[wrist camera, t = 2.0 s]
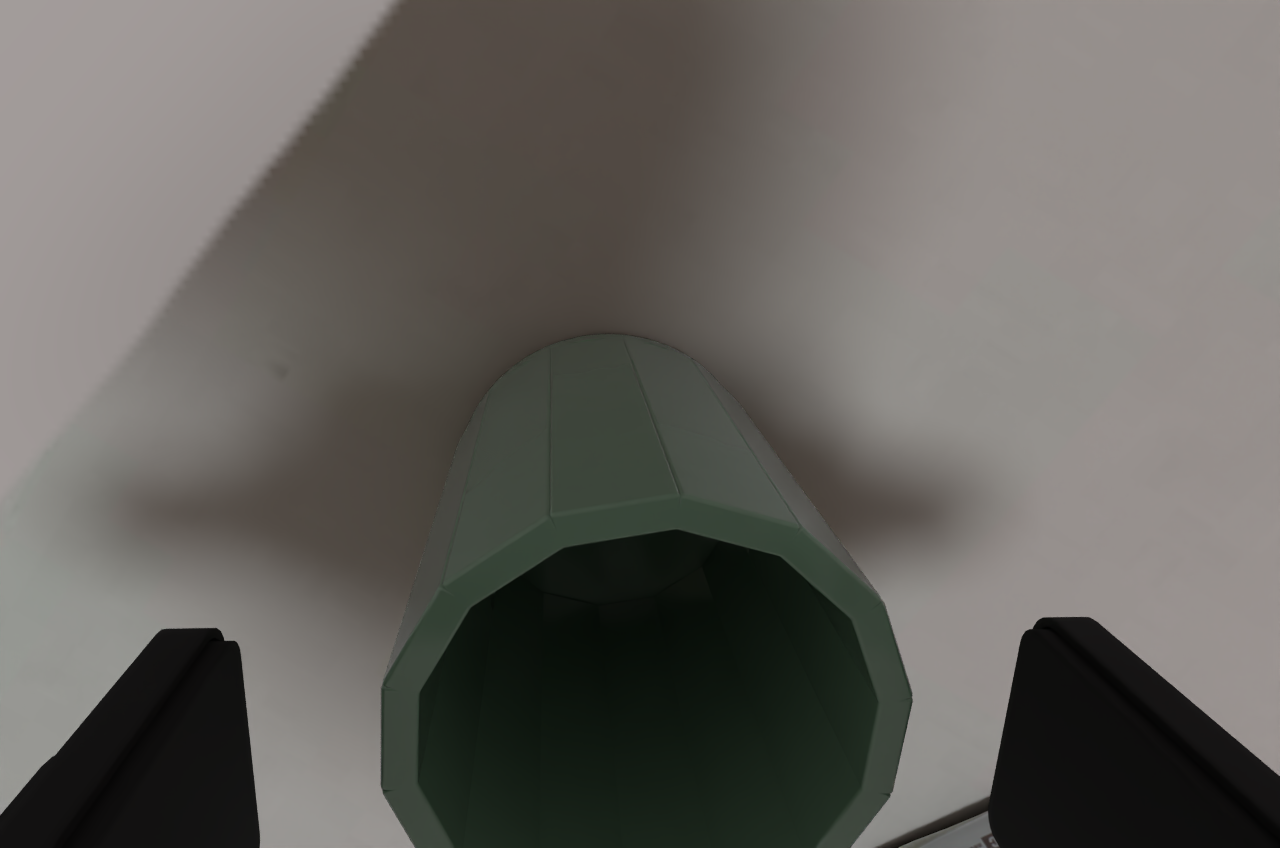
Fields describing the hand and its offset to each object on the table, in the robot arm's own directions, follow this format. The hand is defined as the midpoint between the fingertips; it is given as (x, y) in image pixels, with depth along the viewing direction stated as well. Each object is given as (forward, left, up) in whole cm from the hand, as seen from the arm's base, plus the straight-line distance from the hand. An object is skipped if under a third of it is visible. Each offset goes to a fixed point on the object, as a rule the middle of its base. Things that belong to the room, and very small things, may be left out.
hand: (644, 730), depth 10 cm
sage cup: (0, 0, -7) cm, 7 cm away
